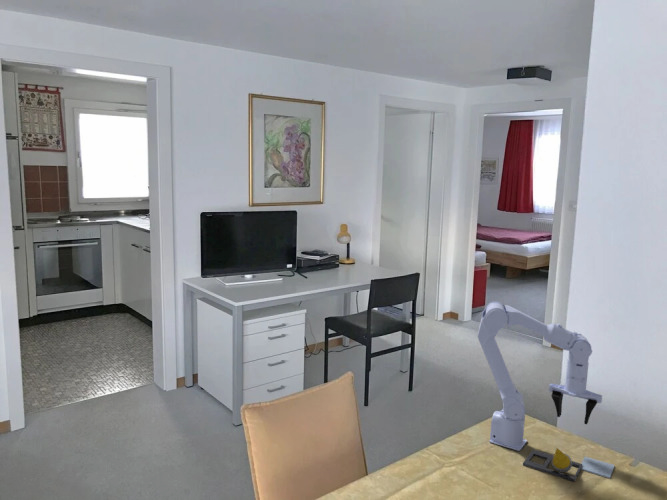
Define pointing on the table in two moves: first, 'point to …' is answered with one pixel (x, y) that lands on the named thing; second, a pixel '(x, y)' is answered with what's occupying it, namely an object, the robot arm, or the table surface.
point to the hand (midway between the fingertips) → (572, 419)
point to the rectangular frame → (546, 464)
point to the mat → (597, 467)
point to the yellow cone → (561, 461)
